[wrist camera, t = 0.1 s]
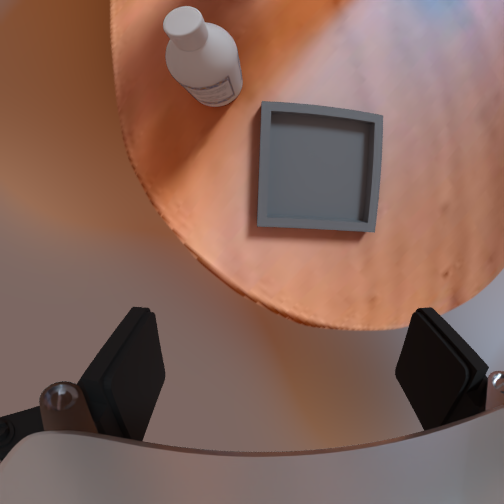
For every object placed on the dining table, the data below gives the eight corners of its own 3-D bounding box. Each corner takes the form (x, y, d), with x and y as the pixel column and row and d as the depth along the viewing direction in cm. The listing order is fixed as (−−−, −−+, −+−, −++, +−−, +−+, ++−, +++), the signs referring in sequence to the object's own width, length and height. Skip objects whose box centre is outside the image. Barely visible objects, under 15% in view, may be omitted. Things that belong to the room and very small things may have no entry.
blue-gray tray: (261, 104, 35) (261, 101, 33) (375, 117, 35) (382, 115, 33) (257, 222, 40) (257, 226, 38) (368, 228, 40) (374, 232, 38)
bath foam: (205, 55, 33) (165, -20, 14) (251, 71, 34) (247, -2, 15) (183, 97, 35) (120, 49, 16) (229, 115, 36) (202, 72, 17)
